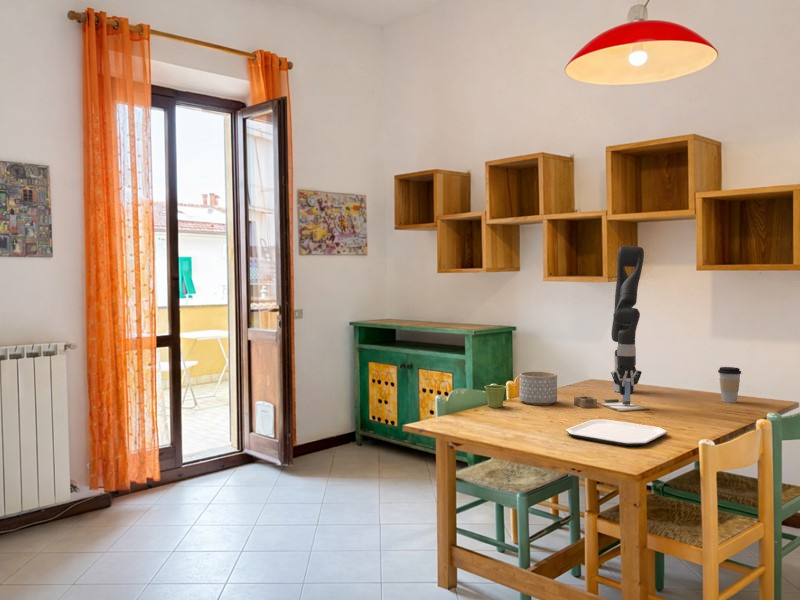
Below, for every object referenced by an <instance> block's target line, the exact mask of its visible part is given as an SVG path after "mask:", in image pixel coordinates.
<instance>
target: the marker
mask: <svg viewBox="0 0 800 600" xmlns="http://www.w3.org/2000/svg"><path fill="white" fill-rule="evenodd" d="M622 379H623V378H622ZM630 381H631V378H626V381H625V384H624V387H625V395H622V397H621V398H622V404H624V405H630V403H631V395H630Z"/></svg>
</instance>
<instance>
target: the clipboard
mask: <svg viewBox="0 0 800 600" xmlns="http://www.w3.org/2000/svg"><path fill="white" fill-rule="evenodd" d="M597 406H601V407H604V408H607V409H610V410H613V411H616V412H618V413H623V412H624V413H625V412H638V411H639V412H642V411H650V408H648V407H644V406H640V405H638V404H635V403H632V402H630V405H624V404H622V401H620V400H619V399H618V398H616V399H615V398H614V399H604V402H601V401H600V402H597Z"/></svg>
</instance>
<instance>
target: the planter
mask: <svg viewBox="0 0 800 600" xmlns="http://www.w3.org/2000/svg"><path fill="white" fill-rule="evenodd" d="M519 400H520V401H521V402H523V403H524V404H526V405H532V406H533V405H534V406H549V405H552V404H554V403H556V402H557V401H558V375H557V373H555V372H549V371H523V372H520V373H519Z"/></svg>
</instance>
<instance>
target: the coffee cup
mask: <svg viewBox="0 0 800 600" xmlns="http://www.w3.org/2000/svg"><path fill="white" fill-rule="evenodd" d="M717 373H719V385H720V386H719V387H720V393H721V400H722V401H723V402H722V403H729V404H735V403H737V402H738V395H739V390H740V380H741V379H740V377H741V375H742V371H741V369H740V368H739V367H733V366H732V367H731V366H720V367H719V369H718V370H717Z"/></svg>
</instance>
